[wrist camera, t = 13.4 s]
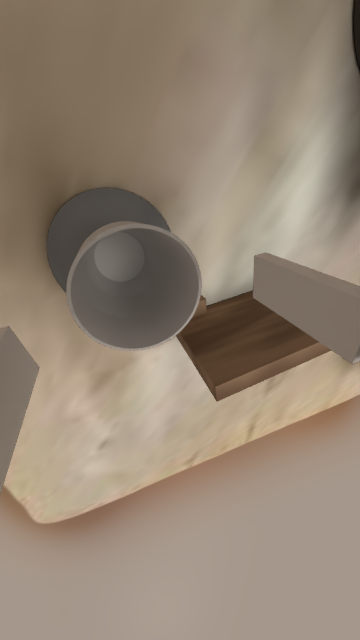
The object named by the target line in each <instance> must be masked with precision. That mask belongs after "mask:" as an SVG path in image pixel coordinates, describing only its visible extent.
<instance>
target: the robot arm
mask: <svg viewBox="0 0 360 640" xmlns="http://www.w3.org/2000/svg"><path fill="white" fill-rule="evenodd" d="M354 36H355V48H356V54H357V60H358V64H359V67H360V0H356V1H355V15H354ZM253 298H254V299H256V300H257V301H259V302H260V303H262V304H263V305H265V306H266V307H268V308H269V309H271V310H272V311H274V312H275V313H277V314H278V315H280V316H281V317H283V318H284V319H286V320H287V321H289V322H290V323H292V324H293V325H295V326H296V327H298V328H299V329H301V330H302V331H304V332H305V333H307V334H308V335H310V336H311V337H313V338H314V339H316V340H317V341H319V342H320V343H322V344H323V345H325V346H326V347H327V348H329V349H330V350H332V351H333V352H335V353H336V354H338V355H339V356H341V357H342V358H344V359H345V360H347V361H348V362H350V363H351V364H354V363H356V362H358V361H360V286H358V285H355V284H352V283H350V282H347V281H344V280H341V279H338V278H336V277H333V276H330V275H327V274H324V273H322V272H319V271H316V270H313V269H310V268H308V267H305V266H302V265H299V264H297V263H294V262H291V261H288V260H285V259H283V258H280V257H277V256H274V255H271V254H269V253H266V252H265V253H262V254H258V255H255V256H254V279H253ZM39 368H40V367H39V366H38V365H37V363H36V362H35V361H34V359H33V358H32V357H31V355H30V354H29V353H28V351H27V350H26V348H25V347H24V346H23V344H22V343H21V342H20V340H19V339H18V338H17V336H16V335H15V334H14V332H13V331H12V330H11V328H10V327H9V326H7V327H4V328H0V494H1V490H2V487H3V484H4V481H5V478H6V474H7V471H8V468H9V465H10V461H11V458H12V455H13V452H14V449H15V445H16V442H17V439H18V436H19V432H20V429H21V426H22V423H23V419H24V416H25V413H26V410H27V407H28V403H29V400H30V397H31V394H32V390H33V387H34V384H35V381H36V377H37V374H38V371H39Z"/></svg>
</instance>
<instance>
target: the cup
mask: <svg viewBox="0 0 360 640" xmlns="http://www.w3.org/2000/svg"><path fill="white" fill-rule="evenodd" d="M201 288H202V281H201V273H200V269H199V266H198V263H197V260H196V258H195V256H194V255H193V253H192V251H191V250H190V249H189V247H188V246H187V245H186V244H185V243H184V242H183V241H182V240H181V239H180V238H178V237H177V236H176V235H174V234H172V233H171V232H169V231H167V230H165V229H162V228H160V227H156V226H152V225H148V224H142V223H137V222H131V221H120V222H114V223H110V224H107V225H105V226H103V227H101V228H99V229H97V230H96V231H94V232H93V233H92V234H91V235H90V236H89V237H88V238H87V239H86V240H85V241H84V243H83V244H82V246H81V248H80V250H79V252H78V254H77V256H76V258H75V260H74V262H73V264H72V266H71V269H70V271H69V275H68V279H67V287H66V293H67V302H68V306H69V309H70V312H71V314H72V316H73V318H74V320H75V322H76V323H77V325H78V326H79V327H80V329H81V330H82V331H83V332H84V333H85V334H86V335H87V336H89V337H90V338H91V339H93V340H94V341H96V342H98V343H100V344H102V345H104V346H106V347H109V348H112V349H117V350H123V351H139V350H145V349H149V348H153V347H156V346H158V345H161V344H163V343H165V342H167V341H168V340H170V339H172V338H173V337H174V336H176V335H177V334H178V333H179V332H180V331H181V330H182V329H183V328H184V327H185V326H186V325H187V324H188V323H189V321H190V320H191V318H192V317H193V315H194V313H195V311H196V309H197V306H198V304H199V300H200V296H201Z"/></svg>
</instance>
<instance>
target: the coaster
mask: <svg viewBox="0 0 360 640" xmlns="http://www.w3.org/2000/svg"><path fill="white" fill-rule="evenodd" d="M120 221H131V222H137V223H142V224H148V225H152V226H156V227H160V228H162V229H165V230H167V231H169V232H171V231H170V229H169V227H168V225H167V223H166V221H165V219H164V218H163V217H162V215H161V214H160V213H159V212H158V210H157V209H156V208H155V207H154V206H152V205H151V204H150V203H149V202H148V201H146V200H145V199H143V198H142V197H140V196H138V195H136V194H134V193H132V192H129V191H126V190H122V189H117V188H97V189H92V190H88V191H85V192H83V193H81V194H78V195H76V196H75V197H73V198H72V199H70V200H69V201H68V202H67V203H66V204H64V205H63V206H62V207H61V209H60V210H59V211H58V213H57V214H56V215H55V217H54V219H53V221H52V223H51V226H50V229H49V232H48V238H47V255H48V261H49V264H50V268H51V270H52V273H53V275H54V277H55V278H56V280H57V282H58V283H59V285H60V286H61V287H62V289H63V290H64V291H65V292H66V287H67V279H68V275H69V271H70V269H71V266H72V264H73V262H74V260H75V258H76V256H77V254H78V252H79V250H80V248H81V246H82V244H83V243H84V241H85V240H86V239H87V238H88V237H89V236H90V235H91V234H92V233H93V232H94V231H96V230H97V229H99V228H101V227H103V226H105V225H107V224H110V223H114V222H120Z"/></svg>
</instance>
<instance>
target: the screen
mask: <svg viewBox="0 0 360 640" xmlns="http://www.w3.org/2000/svg"><path fill="white" fill-rule="evenodd" d="M176 337H177V338H178V340H179V341H180V343H181V345H182V346H183V348H184V349H185V351H186V353H187V354H188V356H189V357H190V359H191V361H192V362H193V364H194V366H195V367H196V369H197V370H198V372H199V374H200V375H201V377H202V378H203V380H204V382H205V383H206V385H207V386H208V388H209V390H210V391H211V393H212V395H213V396H214V398H215V399H216V401H219V400H222V399H224V398H226V397H228V396H231V395H233V394H235V393H237V392H239V391H242V390H244V389H246V388H248V387H251V386H253V385H255V384H257V383H260V382H262V381H264V380H266V379H268V378H271V377H273V376H275V375H277V374H280V373H282V372H284V371H286V370H289V369H291V368H293V367H295V366H297V365H300V364H302V363H304V362H306V361H309V360H311V359H313V358H315V357H318V356H320V355H322V354H324V353H326V352H329V351H331V350H330V349H329V348H327V347H326V346H325V345H323V344H322V343H320V342H319V341H317V340H316V339H314V338H313V337H311V336H310V335H308V334H307V333H305V332H304V331H302V330H301V329H299V328H298V327H296V326H295V325H293V324H292V323H290V322H289V321H287V320H286V319H284V318H283V317H281V316H280V315H278V314H277V313H275V312H274V311H272V310H271V309H269V308H268V307H266V306H265V305H263V304H262V303H260V302H259V301H257V300H256V299H254V298H253V291H250V292H247V293H244V294H241V295H238V296H235V297H232V298H229V299H226V300H223V301H221V302H218V303H215V304H212V305H209V306H206V299H205V298H204V297H203V296H202V295H201V296H200V300H199V304H198V306H197V309H196V311H195V313H194V315H193V317H192V318H191V320H190V321H189V323H188V324H187V325H186V326H185V327H184V328H183V329H182V330H181V331H180V332H179V333H178V334H177V335H176Z"/></svg>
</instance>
